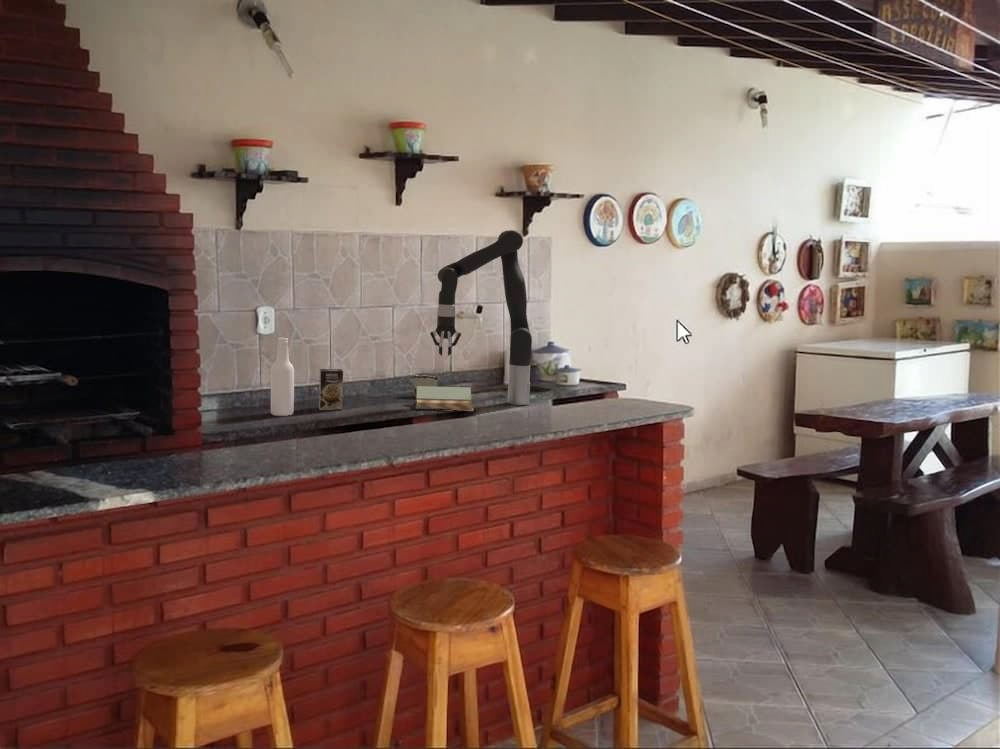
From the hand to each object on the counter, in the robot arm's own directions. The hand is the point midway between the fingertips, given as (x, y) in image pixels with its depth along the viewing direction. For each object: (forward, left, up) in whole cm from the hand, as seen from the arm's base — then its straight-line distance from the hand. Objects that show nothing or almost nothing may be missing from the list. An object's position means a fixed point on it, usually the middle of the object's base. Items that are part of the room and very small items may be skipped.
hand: (444, 355), depth 401 cm
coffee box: (+46, +17, -21) cm, 54 cm away
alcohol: (+64, +30, -21) cm, 74 cm away
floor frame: (0, +6, -21) cm, 22 cm away
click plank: (0, +2, -18) cm, 18 cm away
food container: (+7, -18, -21) cm, 29 cm away
